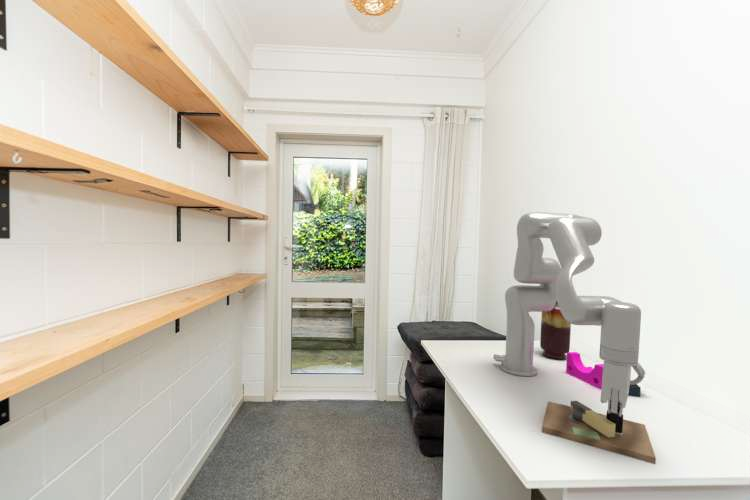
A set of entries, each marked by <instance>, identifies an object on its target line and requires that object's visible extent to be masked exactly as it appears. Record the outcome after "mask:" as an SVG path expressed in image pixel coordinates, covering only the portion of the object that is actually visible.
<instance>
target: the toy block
mask: <svg viewBox="0 0 750 500" xmlns="http://www.w3.org/2000/svg"><path fill="white" fill-rule="evenodd" d="M565 365H566V366H565V367H566V368H565V373H566V374H568V375H571V376H572V377H575V378H577V379H579V380H580V381H583V382H584V383H587V384H589V385H591V386H593V387H595V388H597V389H599V390H601V388H602V374H603V365H604V363H597V364H594V367H592V366H585V364H584V363H583V361H582V358H581V354H580V353H579V352H576V351H569V352H567V353H566V364H565Z"/></svg>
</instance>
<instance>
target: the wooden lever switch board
mask: <svg viewBox="0 0 750 500" xmlns="http://www.w3.org/2000/svg"><path fill="white" fill-rule="evenodd" d="M572 412H573V407H572V406H571V405H566V404H561V403H557V402H553V401H550V400H548V401H547V404H546V409H545V413H544V417H543V421H542V425H541V433H544V434H548V435H551V436H555V437H559V438H562V439H565V440H569V441H573V442H577V443H579V444H583V445H587V446H591V447H593V448H597V449H602V450H605V451H608V452H613V453H616V454H619V455H623V456H626V457H629V458H633V459H637V460H640V461H645V462H646V463H651V464H656V463H657V462H656V460H657V458H656V455H655V452H654V448H653V445H652V442H651V440H650V439H651V438H650V437H649V433H648V430H647V427H646V425H645V424H644V423H639V422H636V421H632V420H628V419H624V418H623V429H622V433H618V432H615V437H609V438H608V437H607V436H605V435H604V434H602V433H601V432H599V431H598V430H596V429H595V428H593V427H592V426H590V425H588V424H587V423H583V422H579V421H576V420H574V419H573V418H572ZM597 413H598V414H599V415H601V416H603V417H604V418H606V415H607V414H603V413H599V412H597Z"/></svg>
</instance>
